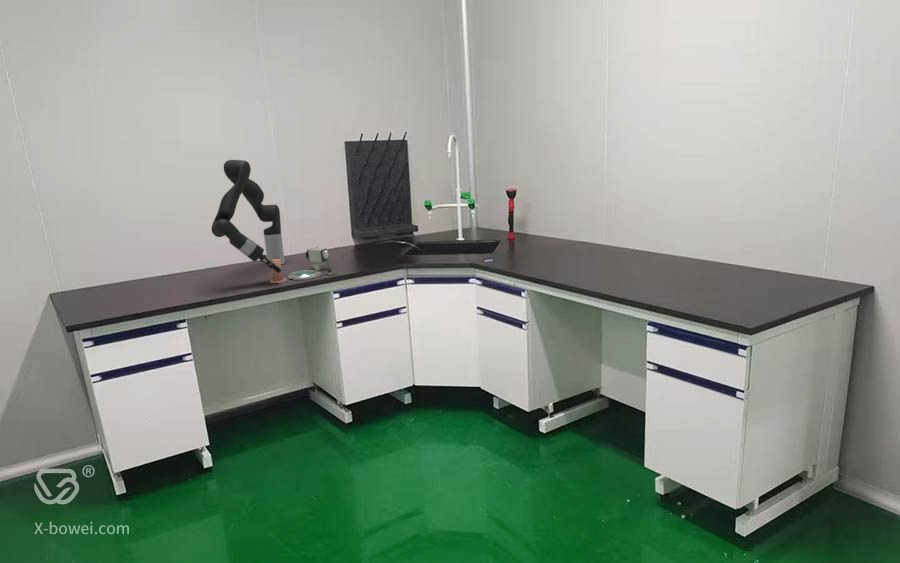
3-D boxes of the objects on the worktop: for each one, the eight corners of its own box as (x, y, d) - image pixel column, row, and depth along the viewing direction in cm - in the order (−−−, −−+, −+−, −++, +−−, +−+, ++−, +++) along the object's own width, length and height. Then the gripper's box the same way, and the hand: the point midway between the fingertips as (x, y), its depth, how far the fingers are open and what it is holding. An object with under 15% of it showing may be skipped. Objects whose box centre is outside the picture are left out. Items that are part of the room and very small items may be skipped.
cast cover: (267, 282, 282) (264, 260, 279) (282, 279, 287) (279, 257, 284) (273, 284, 276) (271, 262, 273) (289, 281, 281) (286, 259, 278)
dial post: (323, 274, 292) (321, 249, 289) (331, 272, 295) (329, 248, 292) (328, 275, 289) (325, 250, 286) (335, 274, 292) (333, 249, 289)
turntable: (282, 277, 291) (282, 273, 291) (311, 271, 301) (311, 268, 300) (296, 282, 279) (296, 278, 279) (326, 275, 289) (326, 272, 288)
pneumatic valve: (326, 270, 300) (323, 248, 297) (307, 270, 304) (304, 247, 301) (331, 268, 305) (329, 246, 302) (313, 267, 309) (310, 245, 306)
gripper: (258, 245, 267) (286, 266, 274) (254, 241, 280) (281, 261, 287) (247, 258, 266) (276, 278, 274) (244, 253, 279) (271, 273, 286)
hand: (278, 269), depth 280 cm, fingers open, 8 cm apart
